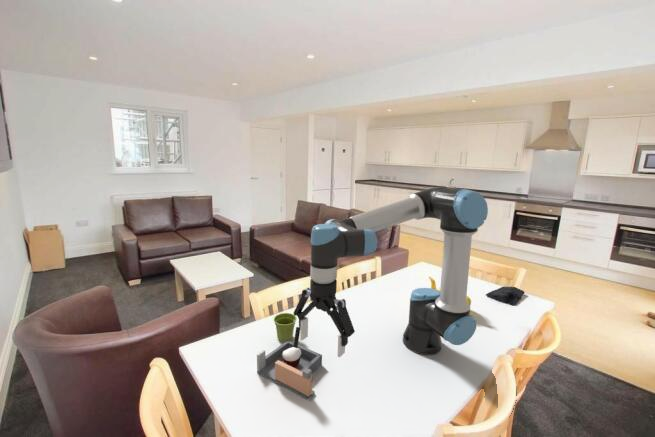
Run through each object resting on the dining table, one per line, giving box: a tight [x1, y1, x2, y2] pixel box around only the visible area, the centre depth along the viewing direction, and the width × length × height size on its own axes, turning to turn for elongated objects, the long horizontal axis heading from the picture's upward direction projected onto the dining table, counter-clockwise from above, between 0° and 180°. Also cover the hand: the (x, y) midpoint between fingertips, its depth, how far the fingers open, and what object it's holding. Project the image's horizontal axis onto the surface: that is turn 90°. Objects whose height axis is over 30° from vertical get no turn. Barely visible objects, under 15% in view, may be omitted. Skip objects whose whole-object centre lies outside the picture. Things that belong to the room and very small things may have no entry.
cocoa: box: [282, 326, 301, 368], centre depth 110 cm, size 10×6×12 cm, turn 134°
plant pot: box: [273, 312, 298, 343], centre depth 128 cm, size 9×9×9 cm
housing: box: [256, 340, 323, 401], centre depth 108 cm, size 22×16×7 cm
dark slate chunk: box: [485, 286, 525, 306], centre depth 174 cm, size 15×22×5 cm
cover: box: [275, 360, 313, 397], centre depth 100 cm, size 14×2×8 cm, turn 57°
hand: (321, 346), depth 93 cm, fingers open, 13 cm apart
